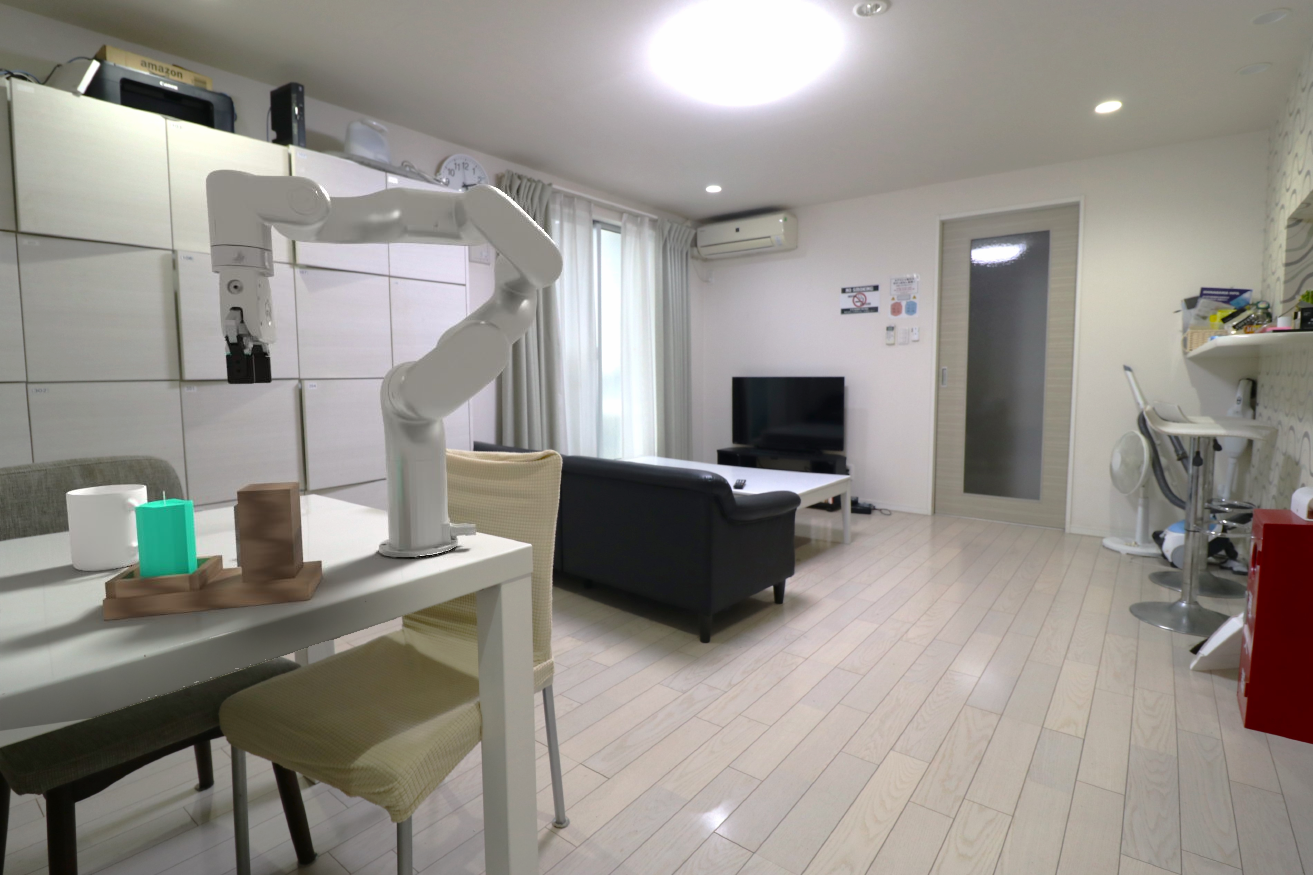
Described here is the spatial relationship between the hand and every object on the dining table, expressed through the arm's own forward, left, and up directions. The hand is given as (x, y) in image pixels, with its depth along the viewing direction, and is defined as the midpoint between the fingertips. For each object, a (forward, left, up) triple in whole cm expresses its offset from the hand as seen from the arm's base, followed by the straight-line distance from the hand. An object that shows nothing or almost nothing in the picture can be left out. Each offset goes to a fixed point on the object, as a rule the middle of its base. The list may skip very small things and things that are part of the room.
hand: (251, 383), depth 93 cm
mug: (+22, -12, -28) cm, 38 cm away
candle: (+8, +11, -26) cm, 29 cm away
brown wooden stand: (+2, +11, -28) cm, 30 cm away
